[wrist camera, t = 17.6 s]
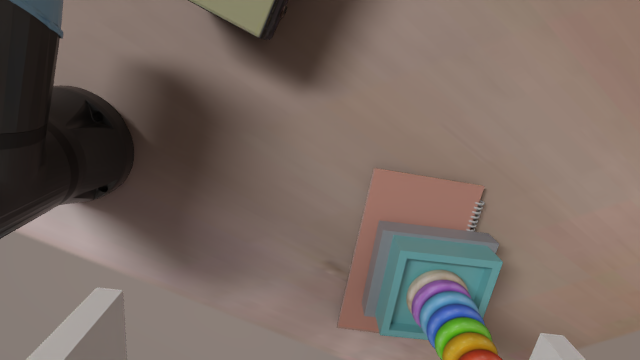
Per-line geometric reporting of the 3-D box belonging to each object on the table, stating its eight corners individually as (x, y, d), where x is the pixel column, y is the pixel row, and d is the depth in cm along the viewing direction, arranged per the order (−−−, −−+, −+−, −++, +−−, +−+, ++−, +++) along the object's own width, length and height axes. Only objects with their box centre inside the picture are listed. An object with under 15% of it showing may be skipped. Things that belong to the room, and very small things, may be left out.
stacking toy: (469, 307, 46) (565, 460, 28) (411, 322, 47) (471, 481, 29) (458, 259, 44) (557, 393, 26) (398, 276, 44) (454, 417, 27)
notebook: (433, 332, 57) (437, 342, 56) (336, 320, 56) (336, 328, 54) (486, 183, 49) (493, 188, 47) (372, 164, 48) (374, 168, 46)
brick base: (361, 302, 52) (368, 337, 46) (379, 220, 48) (389, 245, 41) (462, 312, 53) (483, 348, 46) (488, 233, 49) (515, 260, 42)
